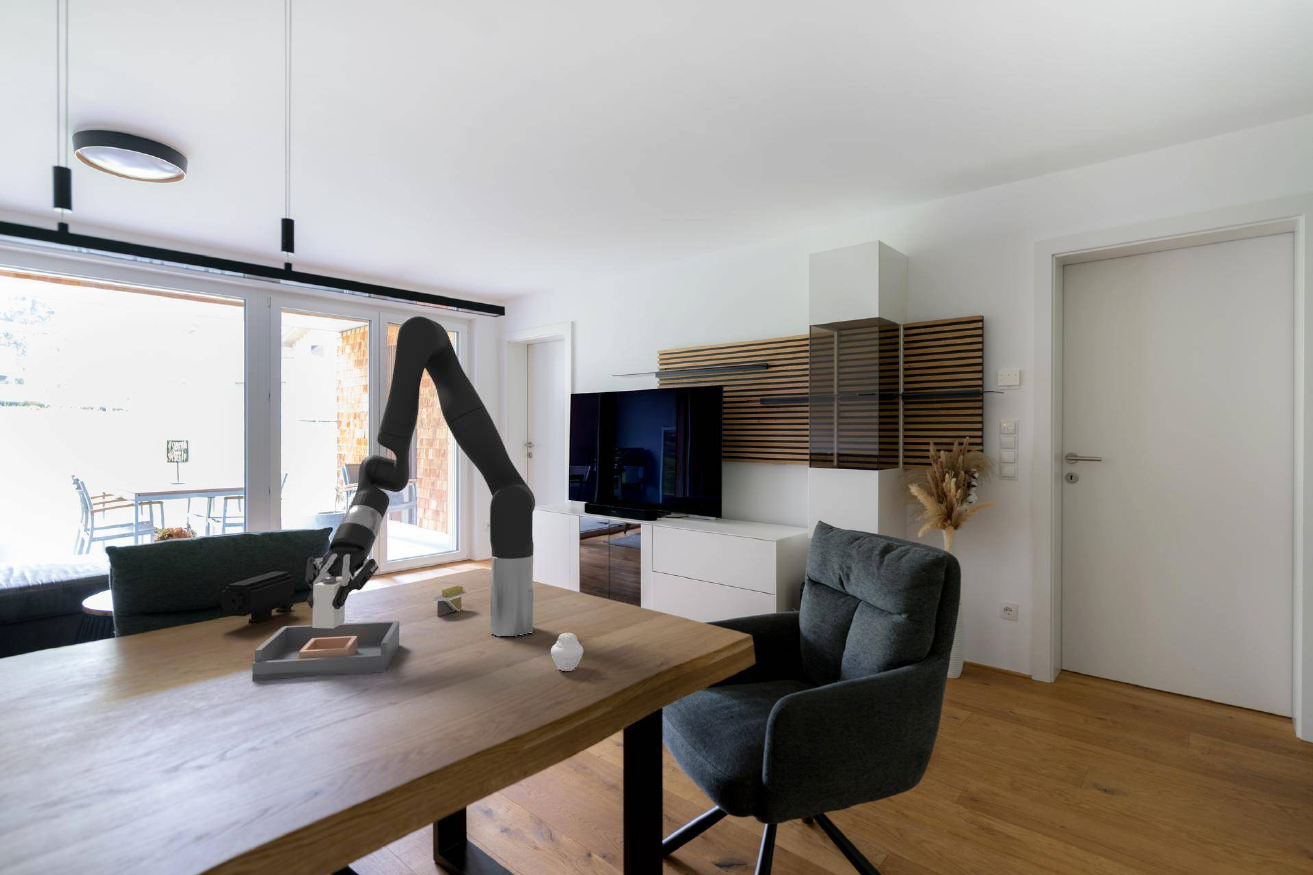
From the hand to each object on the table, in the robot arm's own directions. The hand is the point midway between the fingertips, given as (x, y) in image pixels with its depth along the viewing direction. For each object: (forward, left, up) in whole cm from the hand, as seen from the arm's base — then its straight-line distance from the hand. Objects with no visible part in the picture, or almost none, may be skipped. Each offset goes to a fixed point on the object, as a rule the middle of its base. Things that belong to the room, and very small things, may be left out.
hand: (323, 606), depth 120 cm
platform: (-20, -35, -12) cm, 43 cm away
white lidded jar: (-45, +9, -12) cm, 47 cm away
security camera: (+22, -37, -12) cm, 45 cm away
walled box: (-1, -4, -12) cm, 12 cm away
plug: (0, -2, -4) cm, 5 cm away
